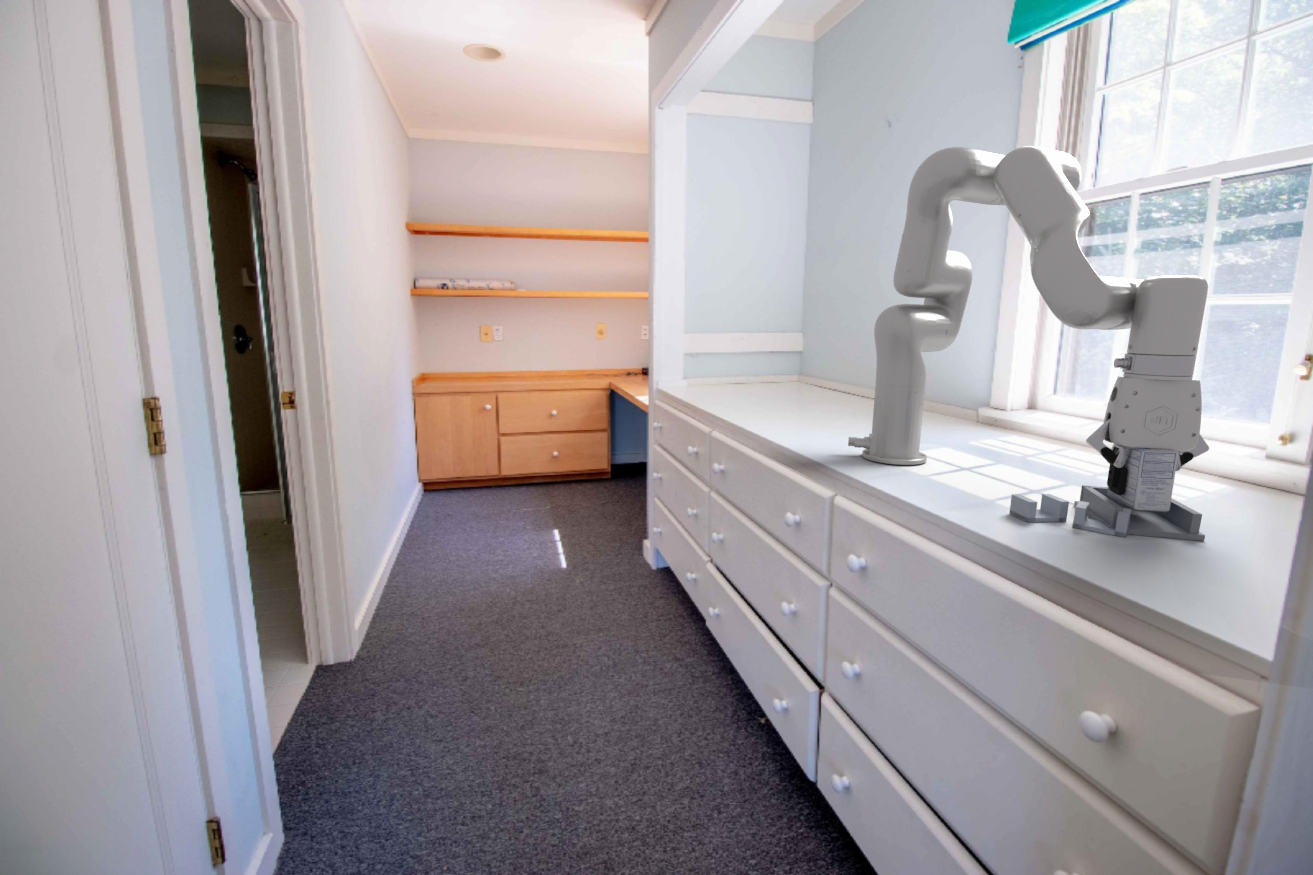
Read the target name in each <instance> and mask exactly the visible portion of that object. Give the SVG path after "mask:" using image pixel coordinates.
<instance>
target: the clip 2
mask: <svg viewBox="0 0 1313 875" xmlns="http://www.w3.org/2000/svg"><path fill="white" fill-rule="evenodd" d="M1078 501H1079V502H1078V504H1077V505H1076V507H1075V506H1074V507H1075V508H1074V514H1073V522H1072V528H1075V529H1078V530H1079V529H1080V530H1084V531H1090V532H1094V533H1100V534H1106V535H1111V536H1115V535H1116V537H1120V536H1121V537H1120V538H1126V537H1127V535H1128V534H1127V528H1128V525H1129V520H1130V514H1131V509H1125V508H1124V509H1123V512H1121V511H1119V513H1118V516H1117V522H1116V529H1110V528H1108V527H1107V526H1105V525H1104V524H1103V523H1101V522H1100V521H1098V520H1093V519H1090V518H1088V509H1089V502H1083V501H1080V500H1078Z"/></svg>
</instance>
